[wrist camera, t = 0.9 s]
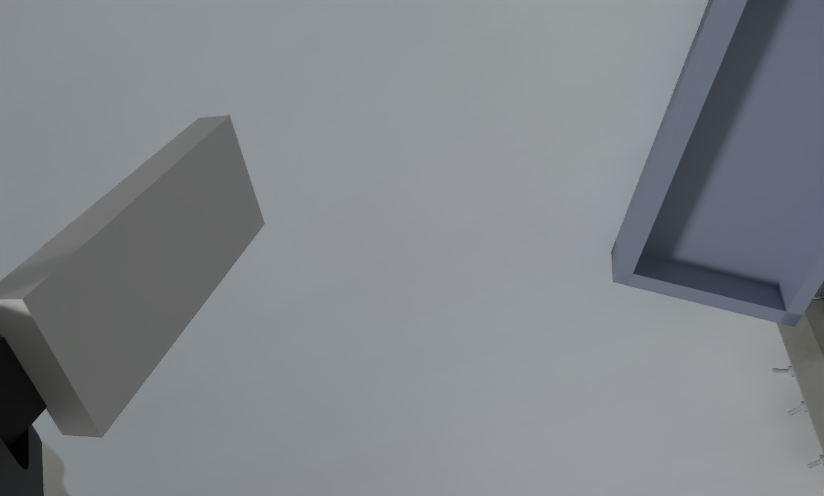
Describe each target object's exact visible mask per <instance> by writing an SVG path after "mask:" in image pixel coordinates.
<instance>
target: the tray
mask: <svg viewBox="0 0 824 496" xmlns="http://www.w3.org/2000/svg"><path fill="white" fill-rule="evenodd" d="M611 254H612V274H613V282H616V283H620V284H624V285H628V286H632V287H636V288H640V289H644V290H648V291H652V292H656V293H660V294H664V295H668V296H672V297H676V298H680V299H684V300H688V301H692V302H696V303H700V304H704V305H708V306H712V307H716V308H720V309H724V310H728V311H732V312H736V313H740V314H744V315H748V316H752V317H756V318H760V319H764V320H768V321H772V322H776V323H781V324H785V325H789V326H793V327H795V326H796V325H797V323H798V321H799V320H800V318H801V317H802V315H803V313H804V312H805V310H806V309H807V307H808V305H809V304H810V302H811V301H812V299H813V297H814V296H815V294H816V293H817V291H818V289H819V288H820V286H821V285H822V283H823V281H824V0H709V2H708V4H707V7H706V10H705V12H704V15H703V17H702V20H701V23H700V25H699V28H698V30H697V33H696V35H695V38H694V41H693V43H692V46H691V48H690V51H689V53H688V56H687V59H686V61H685V64H684V66H683V69H682V71H681V74H680V77H679V79H678V82H677V84H676V87H675V89H674V92H673V95H672V97H671V100H670V102H669V105H668V107H667V110H666V113H665V115H664V118H663V120H662V123H661V126H660V128H659V131H658V133H657V136H656V138H655V141H654V144H653V146H652V149H651V151H650V154H649V156H648V159H647V162H646V164H645V167H644V169H643V172H642V174H641V177H640V180H639V182H638V185H637V187H636V190H635V192H634V195H633V198H632V200H631V203H630V205H629V208H628V211H627V213H626V216H625V218H624V221H623V223H622V226H621V229H620V231H619V234H618V236H617V239H616V241H615V244H614V247H613V249H612V252H611Z"/></svg>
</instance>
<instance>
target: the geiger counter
mask: <svg viewBox="0 0 824 496" xmlns="http://www.w3.org/2000/svg"><path fill="white" fill-rule="evenodd" d="M777 325H778V328H779V331H780V334H781V337H782V340H783V342H784V345H785V348H786V351H787V354H788V356H789V359H790V362H791V365H792V366H788V367H789V369H775V368H774V369H772V372H774V373H789V374H790V375H791V376H792V377H794V376H796V379H797V382H798V385H799V387H800V390H801V393H802V396H803V399H804V401H802V402H801V403H802V404H801V406H800V407H798V408H796V409H793V410H791V411H789V412H788V414H789V415H792V414H794V413H796V412H798V411H800V410H802V409H803V410H804V412H807V411H808V413H809V415H810V418H811V421H812V424H813V427H814V430H815V432H816V435H817V438H818V441H819V444H820V446H821V449H822V452H823V455H820V456H821V457H820V460H818V461H815V462H813V463H810V464H808V465H807V466H808V468H811V467H814V466H816V465H818V464H820V463H823V465H824V299H816V300H812V301H811V302H810V304H809V305H808V307H807V309H806V310H805V312H804V313H803V315H802V317H801V318H800V320H799V321H798V323H797V325H796V326H795V327H793V326H789V325H785V324H781V323H777Z"/></svg>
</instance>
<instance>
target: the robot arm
mask: <svg viewBox="0 0 824 496" xmlns="http://www.w3.org/2000/svg"><path fill="white" fill-rule="evenodd" d="M264 224H265V223H264V220H263V217H262V214H261V211H260V208H259V205H258V201H257V198H256V195H255V192H254V189H253V186H252V183H251V180H250V177H249V174H248V170H247V167H246V164H245V161H244V158H243V155H242V152H241V149H240V146H239V143H238V140H237V136H236V133H235V130H234V127H233V124H232V121H231V118H230V115H229V116H217V117H205V118H198V119H197V120H196V121H195V122H193V123H192V124H191V125H190V126H189V127H187V128H186V129H185V130H184V131H183V132H181V133H180V134H179V135H178V136H176V137H175V138H174V139H173V140H172V141H170V142H169V143H168V144H167V145H166V146H164V147H163V148H162V149H161V150H159V151H158V152H157V153H156V154H155V155H153V156H152V157H151V158H150V159H149V160H147V161H146V162H145V163H144V164H142V165H141V166H140V167H139V168H138V169H136V170H135V171H134V172H133V173H132V174H130V175H129V176H128V177H127V178H125V179H124V180H123V181H122V182H121V183H119V184H118V185H117V186H116V187H114V188H113V189H112V190H111V191H110V192H108V193H107V194H106V195H105V196H104V197H102V198H101V199H100V200H99V201H97V202H96V203H95V204H94V205H93V206H91V207H90V208H89V209H88V210H87V211H85V212H84V213H83V214H82V215H80V216H79V217H78V218H77V219H76V220H74V221H73V222H72V223H71V224H70V225H68V226H67V227H66V228H65V229H63V230H62V231H61V232H60V233H59V234H57V235H56V236H55V237H54V238H53V239H51V240H50V241H49V242H48V243H46V244H45V245H44V246H43V247H42V248H40V249H39V250H38V251H37V252H36V253H34V254H33V255H32V256H31V257H29V258H28V259H27V260H26V261H25V262H23V263H22V264H21V265H20V266H19V267H17V268H16V269H15V270H14V271H12V272H11V273H10V274H9V275H8V276H6V277H5V278H4V279H3V280H1V281H0V496H44V493H43V467H42V466H43V465H42V442H41V440H40V437H39V435H38V433H37V432H36V430H35V429H34V427H33V426H32V423H33V422H34V421H35V420H36V419H37V418H38V416H39V415H40V414H41V413H42V412H43V411H44V410H45V409H47V411H48V412H49V414H50V415H51V417H52V419H53V420H54V422H55V423H56V425H57V427H58V428H59V430H60V431H61V433H62V435H73V436H88V437H103V436H104V434H105V433H106V432H107V430H108V429H109V428H110V426H111V425H112V424H113V422H114V421H115V420H116V418H117V417H118V416H119V415H120V413H121V412H122V411H123V409H124V408H125V407H126V405H127V404H128V403H129V401H130V400H131V399H132V397H133V396H134V395H135V393H136V392H137V391H138V390H139V388H140V387H141V386H142V384H143V383H144V382H145V380H146V379H147V378H148V376H149V375H150V374H151V372H152V371H153V370H154V369H155V367H156V366H157V365H158V363H159V362H160V361H161V359H162V358H163V357H164V355H165V354H166V353H167V351H168V350H169V349H170V348H171V346H172V345H173V344H174V342H175V341H176V340H177V338H178V337H179V336H180V334H181V333H182V332H183V330H184V329H185V328H186V326H187V325H188V324H189V323H190V321H191V320H192V319H193V317H194V316H195V315H196V313H197V312H198V311H199V309H200V308H201V307H202V305H203V304H204V303H205V302H206V300H207V299H208V298H209V296H210V295H211V294H212V292H213V291H214V290H215V288H216V287H217V286H218V284H219V283H220V282H221V281H222V279H223V278H224V277H225V275H226V274H227V273H228V271H229V270H230V269H231V267H232V266H233V265H234V263H235V262H236V261H237V259H238V258H239V257H240V256H241V254H242V253H243V252H244V250H245V249H246V248H247V246H248V245H249V244H250V242H251V241H252V240H253V238H254V237H255V236H256V235H257V233H258V232H259V231H260V229H261V228H262V227H263V225H264Z"/></svg>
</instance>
